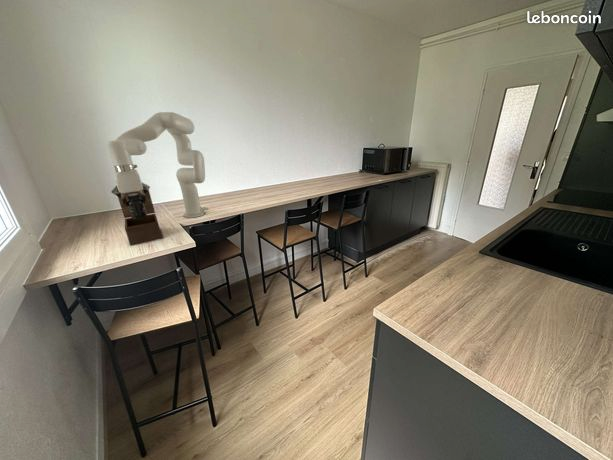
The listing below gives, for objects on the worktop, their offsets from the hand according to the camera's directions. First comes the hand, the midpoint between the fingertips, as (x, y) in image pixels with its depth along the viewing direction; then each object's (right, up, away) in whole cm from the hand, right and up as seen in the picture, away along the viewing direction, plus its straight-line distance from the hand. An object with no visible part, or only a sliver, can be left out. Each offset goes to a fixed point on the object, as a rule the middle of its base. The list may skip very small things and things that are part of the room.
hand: (135, 203), depth 126 cm
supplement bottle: (0, -7, +3) cm, 7 cm away
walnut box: (-4, -17, +14) cm, 22 cm away
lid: (-9, +3, +13) cm, 16 cm away
